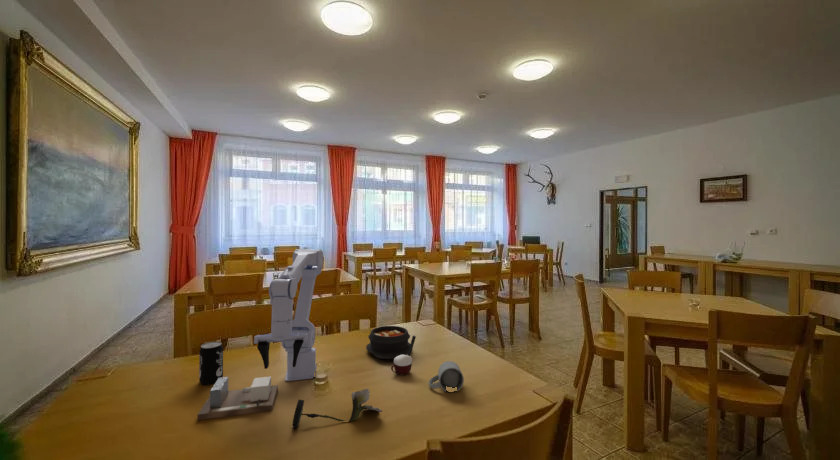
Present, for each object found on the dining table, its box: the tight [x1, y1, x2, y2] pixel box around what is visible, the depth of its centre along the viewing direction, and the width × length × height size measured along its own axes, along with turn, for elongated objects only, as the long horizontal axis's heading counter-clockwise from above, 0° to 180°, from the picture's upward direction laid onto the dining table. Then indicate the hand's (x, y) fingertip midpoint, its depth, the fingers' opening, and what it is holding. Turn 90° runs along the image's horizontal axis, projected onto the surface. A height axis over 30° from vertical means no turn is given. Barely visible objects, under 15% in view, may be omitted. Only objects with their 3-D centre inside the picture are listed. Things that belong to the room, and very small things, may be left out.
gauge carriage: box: [242, 376, 272, 405], centre depth 96 cm, size 7×9×4 cm
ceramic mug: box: [428, 360, 465, 392], centre depth 108 cm, size 11×8×8 cm
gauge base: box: [197, 384, 279, 421], centre depth 96 cm, size 18×12×2 cm, turn 106°
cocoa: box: [390, 335, 417, 376], centre depth 118 cm, size 10×6×12 cm, turn 103°
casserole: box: [365, 325, 411, 360], centre depth 138 cm, size 25×19×8 cm
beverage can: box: [198, 341, 224, 386], centre depth 110 cm, size 7×7×12 cm
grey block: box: [209, 376, 229, 409], centre depth 95 cm, size 2×8×5 cm, turn 16°
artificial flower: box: [291, 388, 383, 430], centre depth 89 cm, size 9×22×10 cm, turn 100°
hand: (280, 366), depth 99 cm, fingers open, 7 cm apart
